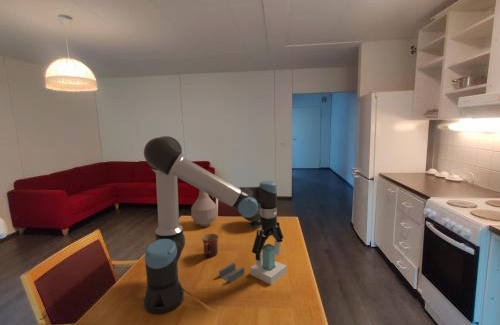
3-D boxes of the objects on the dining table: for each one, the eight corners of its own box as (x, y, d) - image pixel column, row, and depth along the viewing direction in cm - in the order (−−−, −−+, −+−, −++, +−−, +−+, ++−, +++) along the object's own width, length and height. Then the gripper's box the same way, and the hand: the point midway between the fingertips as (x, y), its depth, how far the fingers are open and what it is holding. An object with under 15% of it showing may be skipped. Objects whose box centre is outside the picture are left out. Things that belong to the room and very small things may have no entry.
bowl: (239, 221, 185) (239, 201, 183) (266, 219, 188) (265, 199, 185) (241, 232, 166) (241, 210, 164) (271, 230, 168) (271, 208, 166)
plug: (269, 278, 116) (269, 249, 114) (262, 275, 119) (262, 246, 117) (275, 274, 119) (275, 246, 117) (268, 271, 122) (267, 243, 120)
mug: (206, 250, 143) (205, 233, 141) (221, 251, 141) (220, 234, 140) (197, 261, 131) (196, 242, 130) (213, 263, 130) (213, 244, 128)
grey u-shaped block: (230, 284, 112) (230, 276, 112) (219, 277, 117) (219, 270, 117) (244, 275, 119) (244, 267, 118) (233, 269, 124) (233, 262, 123)
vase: (190, 222, 184) (187, 181, 180) (213, 218, 191) (212, 179, 187) (194, 231, 168) (192, 187, 164) (220, 227, 175) (219, 184, 171)
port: (271, 286, 111) (271, 276, 110) (250, 275, 119) (250, 266, 118) (286, 273, 119) (286, 264, 119) (266, 264, 127) (266, 256, 127)
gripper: (256, 226, 103) (257, 275, 106) (290, 210, 121) (290, 252, 125) (243, 222, 108) (244, 268, 111) (277, 207, 126) (277, 247, 130)
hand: (268, 260), depth 118 cm, fingers open, 13 cm apart
